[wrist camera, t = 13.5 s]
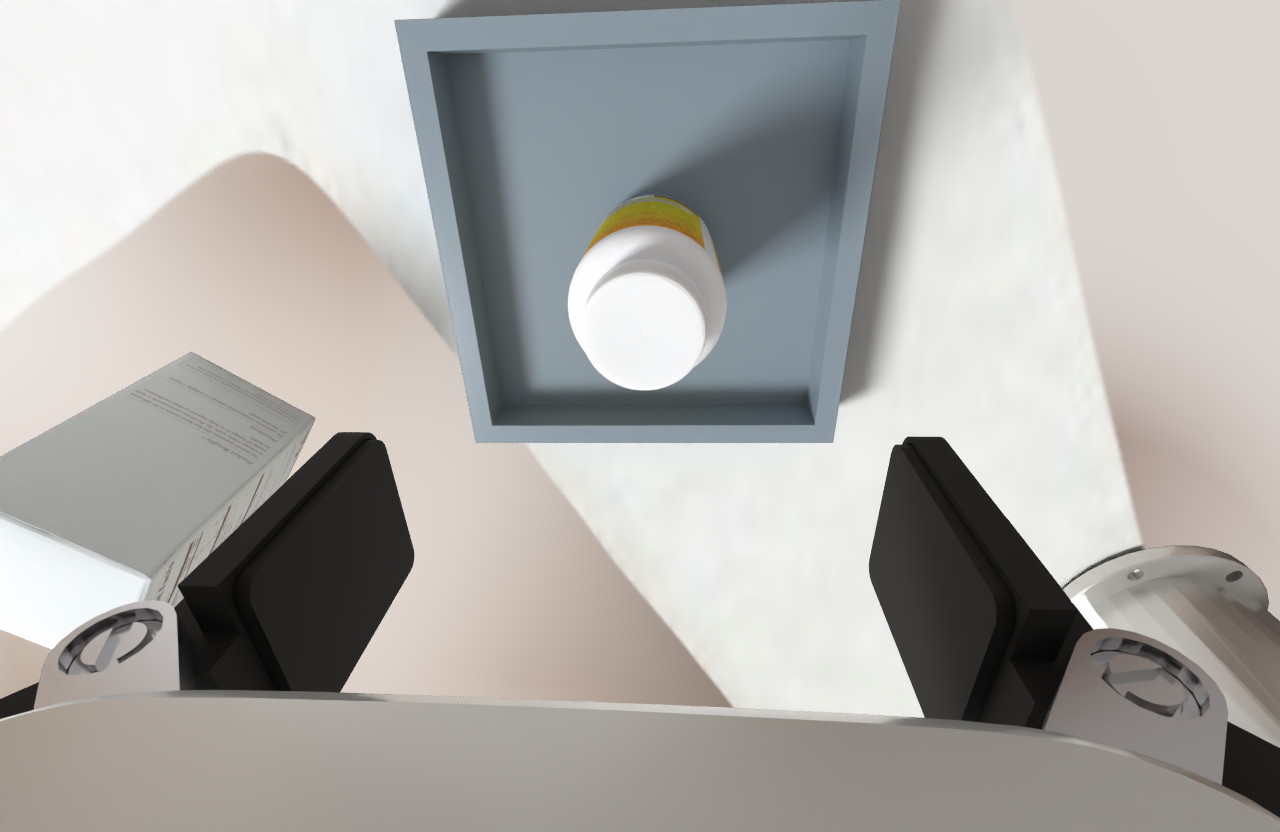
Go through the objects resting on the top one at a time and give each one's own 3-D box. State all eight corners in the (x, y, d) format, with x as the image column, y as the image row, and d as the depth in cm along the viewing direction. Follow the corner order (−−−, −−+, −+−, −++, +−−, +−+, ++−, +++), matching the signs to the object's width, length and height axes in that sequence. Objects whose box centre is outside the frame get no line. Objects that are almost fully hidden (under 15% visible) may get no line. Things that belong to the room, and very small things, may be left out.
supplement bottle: (570, 233, 27) (517, 301, 18) (676, 167, 25) (677, 204, 16) (633, 334, 29) (614, 439, 20) (734, 278, 27) (764, 365, 18)
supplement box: (160, 440, 35) (-81, 604, 23) (192, 346, 31) (-67, 484, 20) (280, 501, 36) (110, 680, 25) (322, 418, 33) (149, 580, 22)
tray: (874, 10, 23) (900, -1, 20) (819, 413, 32) (832, 442, 29) (424, 27, 24) (394, 20, 21) (491, 414, 33) (475, 442, 30)
